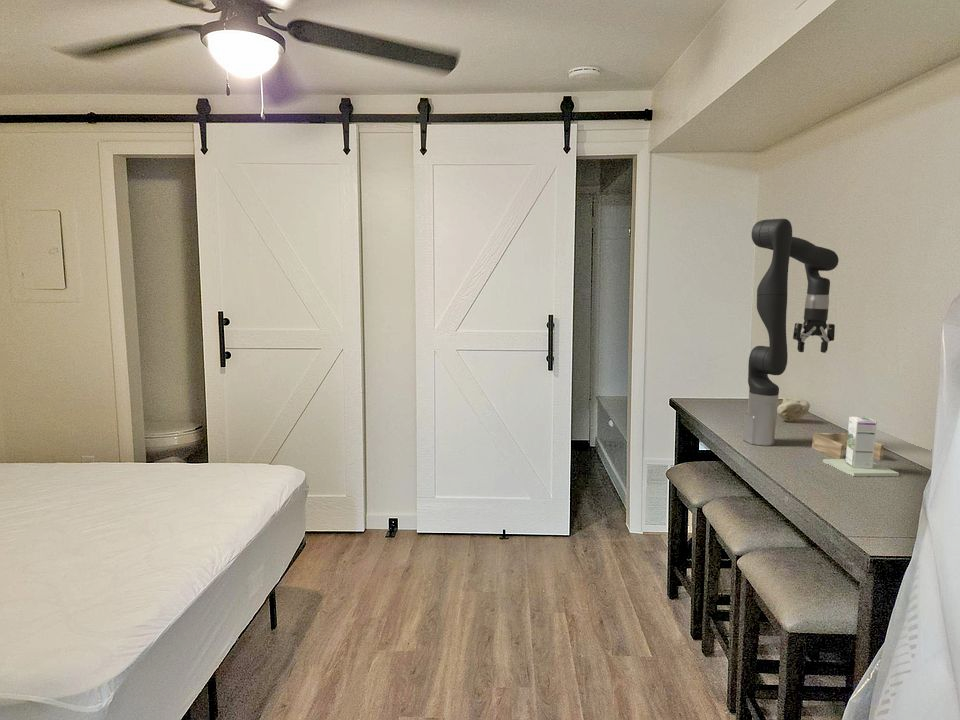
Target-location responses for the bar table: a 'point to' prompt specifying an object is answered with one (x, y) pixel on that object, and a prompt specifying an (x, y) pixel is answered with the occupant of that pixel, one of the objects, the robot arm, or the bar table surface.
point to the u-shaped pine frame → (838, 445)
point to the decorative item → (793, 409)
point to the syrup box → (860, 442)
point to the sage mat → (860, 469)
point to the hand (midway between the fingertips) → (812, 352)
